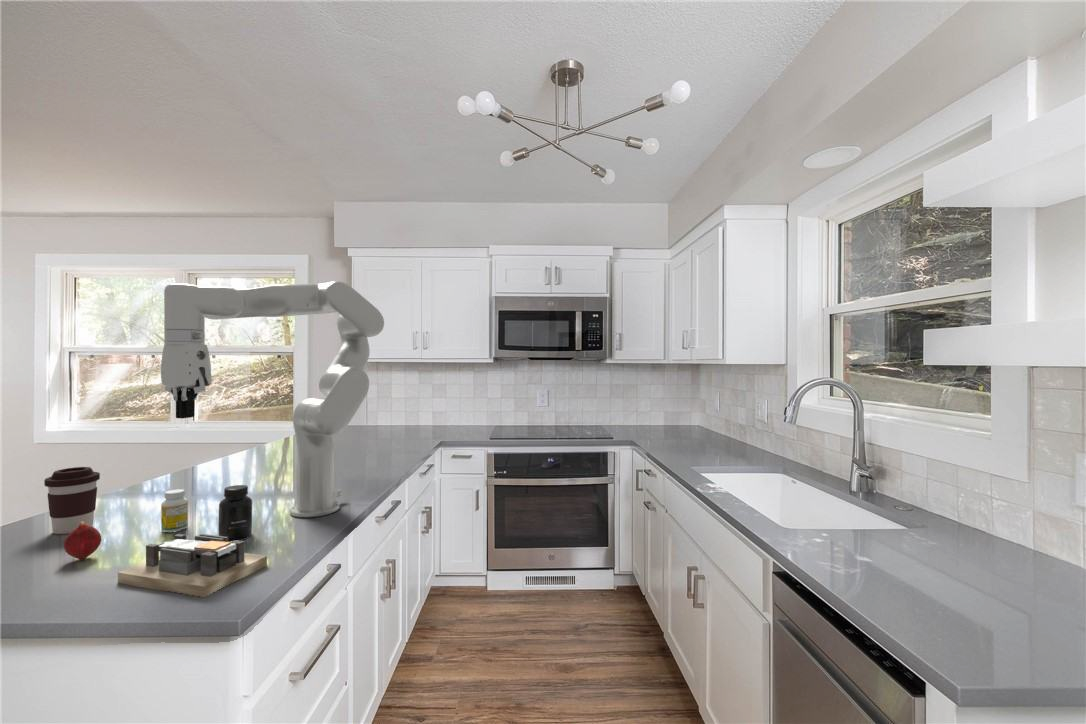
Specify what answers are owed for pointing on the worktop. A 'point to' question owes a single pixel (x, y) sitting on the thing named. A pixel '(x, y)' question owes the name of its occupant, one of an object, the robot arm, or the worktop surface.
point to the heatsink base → (191, 580)
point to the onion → (82, 541)
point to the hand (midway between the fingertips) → (185, 417)
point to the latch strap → (201, 546)
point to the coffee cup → (71, 498)
